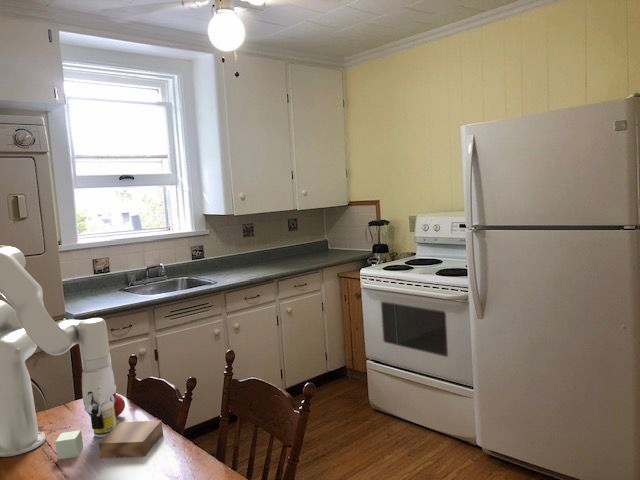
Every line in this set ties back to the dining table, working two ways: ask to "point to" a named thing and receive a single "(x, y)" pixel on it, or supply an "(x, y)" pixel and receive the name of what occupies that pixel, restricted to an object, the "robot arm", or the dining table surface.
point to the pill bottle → (106, 418)
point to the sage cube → (69, 444)
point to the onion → (119, 405)
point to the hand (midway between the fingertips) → (104, 422)
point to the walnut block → (131, 439)
